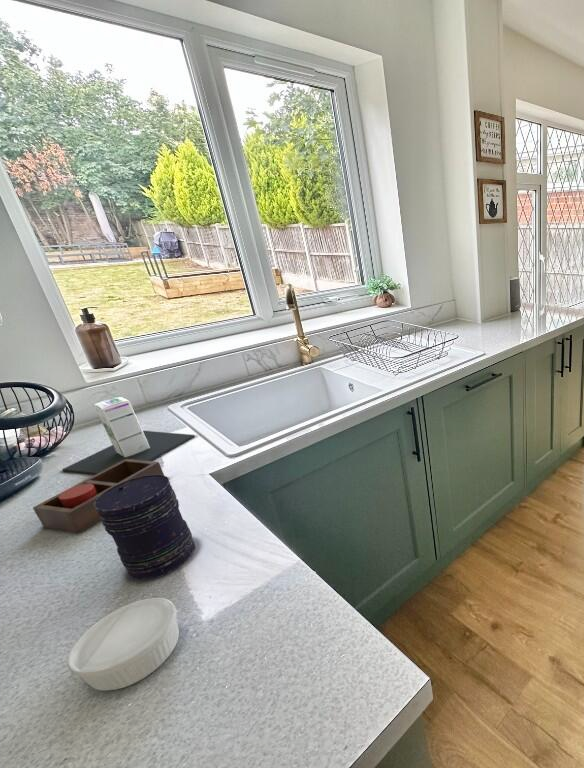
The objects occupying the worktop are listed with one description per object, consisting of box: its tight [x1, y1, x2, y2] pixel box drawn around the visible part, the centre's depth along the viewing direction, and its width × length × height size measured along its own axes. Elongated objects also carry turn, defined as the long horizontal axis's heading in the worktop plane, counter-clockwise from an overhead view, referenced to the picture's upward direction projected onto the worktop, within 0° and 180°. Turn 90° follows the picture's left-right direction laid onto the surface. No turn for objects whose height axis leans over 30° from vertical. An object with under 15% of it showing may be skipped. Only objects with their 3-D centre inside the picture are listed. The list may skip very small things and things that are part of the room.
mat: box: [61, 430, 195, 476], centre depth 110 cm, size 18×20×1 cm
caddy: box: [32, 459, 165, 534], centre depth 90 cm, size 10×18×5 cm, turn 169°
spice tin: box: [59, 484, 98, 509], centre depth 86 cm, size 5×5×6 cm
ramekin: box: [67, 597, 180, 692], centre depth 57 cm, size 11×11×5 cm
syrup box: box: [93, 396, 150, 457], centre depth 107 cm, size 6×6×14 cm
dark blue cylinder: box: [94, 475, 196, 581], centre depth 72 cm, size 10×10×15 cm
